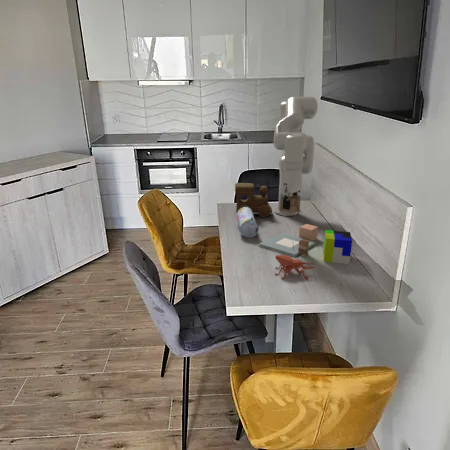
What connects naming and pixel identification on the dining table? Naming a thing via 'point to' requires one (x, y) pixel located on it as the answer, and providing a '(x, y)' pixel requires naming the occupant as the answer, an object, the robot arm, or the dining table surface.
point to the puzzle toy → (337, 246)
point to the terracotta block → (308, 232)
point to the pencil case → (247, 222)
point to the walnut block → (292, 204)
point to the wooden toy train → (253, 199)
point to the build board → (284, 244)
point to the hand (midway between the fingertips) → (290, 206)
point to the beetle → (290, 265)
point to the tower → (303, 247)
